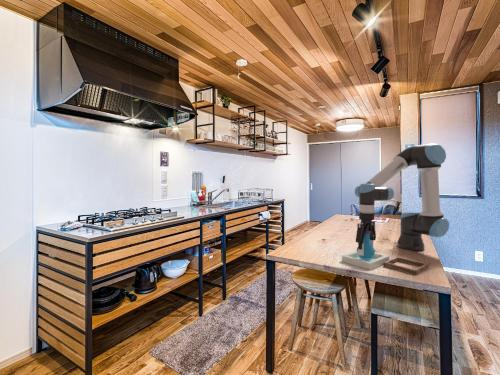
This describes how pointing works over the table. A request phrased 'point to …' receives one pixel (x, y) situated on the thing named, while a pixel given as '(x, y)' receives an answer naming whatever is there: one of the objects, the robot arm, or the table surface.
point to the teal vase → (367, 247)
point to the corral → (390, 264)
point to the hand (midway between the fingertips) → (365, 253)
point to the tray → (368, 264)
